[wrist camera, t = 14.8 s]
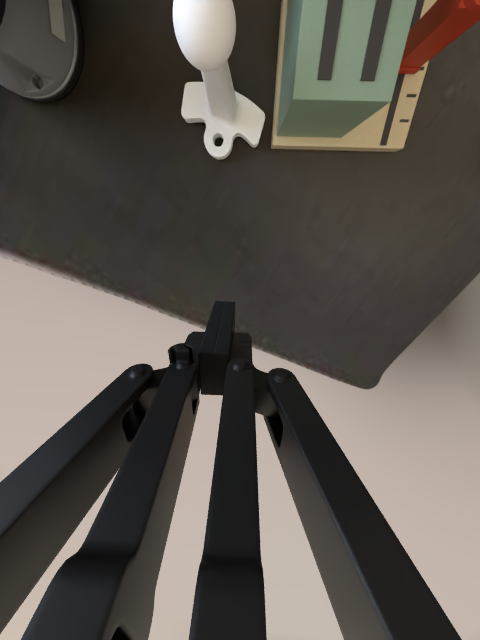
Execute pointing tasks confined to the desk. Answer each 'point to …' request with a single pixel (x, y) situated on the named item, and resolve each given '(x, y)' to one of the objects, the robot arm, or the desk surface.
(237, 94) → the joystick
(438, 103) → the desk surface
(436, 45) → the slider
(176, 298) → the desk surface
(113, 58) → the desk surface
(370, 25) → the toaster
